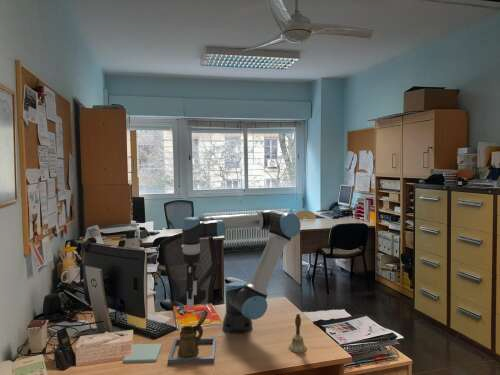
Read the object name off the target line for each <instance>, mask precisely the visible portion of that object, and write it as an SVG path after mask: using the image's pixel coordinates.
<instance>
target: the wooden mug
mask: <svg viewBox="0 0 500 375" xmlns="http://www.w3.org/2000/svg"><path fill="white" fill-rule="evenodd" d="M208 314H209V312H208V311H205V312H203V313H202V314H201V315H200V317H199V319H198V322H197V323H196V325H193V326H192V325H184V326H182V327H180V331H179V338H180V343H179V344H178V349H177V356H179V358H194V357H196V356H197V355H198V354H199V351H200V349H199V344H200V343H199V340H200V339H201V338H203V337H202V336H203V334H204V329H203V327H202V326H203V323H204V322H205V320H206V318H207V316H208ZM197 334H198V335H197ZM196 335H197V336H196Z"/></svg>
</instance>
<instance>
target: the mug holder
mask: <svg viewBox="0 0 500 375" xmlns="http://www.w3.org/2000/svg"><path fill="white" fill-rule="evenodd" d="M179 343H180V337H179V338H174V339H173V342H172V345H171V349H170V351H169V355H168V356H167V357H168V358H167V365H189V364H190V365H192V364H196V365H197V364H215V357H216V356H215V355H216V346H217V337H201V339H200V340H199V343H198V344H212V346H211V347H212V348H211V356H209V357H208V356H206V357H205V356H203V357H190V358H183V357H174V354H175V351H176V348H177V345H179Z"/></svg>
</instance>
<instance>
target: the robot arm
mask: <svg viewBox="0 0 500 375" xmlns="http://www.w3.org/2000/svg"><path fill="white" fill-rule="evenodd" d="M301 227H302V224H301V220H300V218H299V217H298V215H296V214H295V213H293V212H290V211H284V210H281V209H269V210H258V211H255V212H254V213H244V214H229V215H227V214H226V215H225V214H224V215H211V216H202V215H196V216H188V217H184V218H183V219H182V223H181V232H182V245H181V246H180V247H181V248H182V262H183V263H185V264H187V265H186V287H185V288H186V289H184V292H185V293H186V307H194V296H197V291H198V290H197V286H198V285H197V281H198V280H199V278H198V277H197V265H196V264H197V263H199V262H201V253H200V252H201V239H208V238H210V239H211V238H219V237H223V236H224V235H226V232H227V231H237V230H251V229H256V230H257V231H268V236H269V238H268V240H267V243H266V246H265V247H264V249H263V252H262V254H261V257H260V259H259V261H258V264H257V266H256V267H255V269H254V273H253V275H252V276H251V278H250V279H251V280H250V282H247V281H232V282H229V283H227V284H226V286H225V315H224V318H223V321H222V329H223V330H224V331H225V332H227V333H229V334H230V333H231V334H243V333H244V334H245V333H248V332H249V331H251V330H252V329H253V320H257V319H260V318H262V317H263V316H264V315H265V314H266V312H267V310H268V302H267V298H268V295H269V294H268V291H267V289H268V287H269V284H270V282H271V280H272V277H273V276H274V275H273V274H274V273H275V270H276V268H277V266H278V263H279V261H280V258H281V256H282V254H283V252H284V249H285V246H286V244H290V243H291V240H292V239H293V238H295V237H297V236H298V234H299V233H300V232H301Z"/></svg>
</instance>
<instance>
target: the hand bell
mask: <svg viewBox="0 0 500 375" xmlns="http://www.w3.org/2000/svg"><path fill="white" fill-rule="evenodd" d="M295 316H296V317H295V319H294V320H295V322H294V324H295V327H296V328H295V334H294V335H293V336H292V339H291V340H292V341H291V343H290V344H289V345H288V350H289V351H291V352H293V353H295V354H300V353H305V352H306V351H307V346H306V345H305V342H304V338H303V336H302V335H301V333H300V332H301V330H300V328H301V323H302V319H301V315H300V314H299V313H296V315H295Z"/></svg>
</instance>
